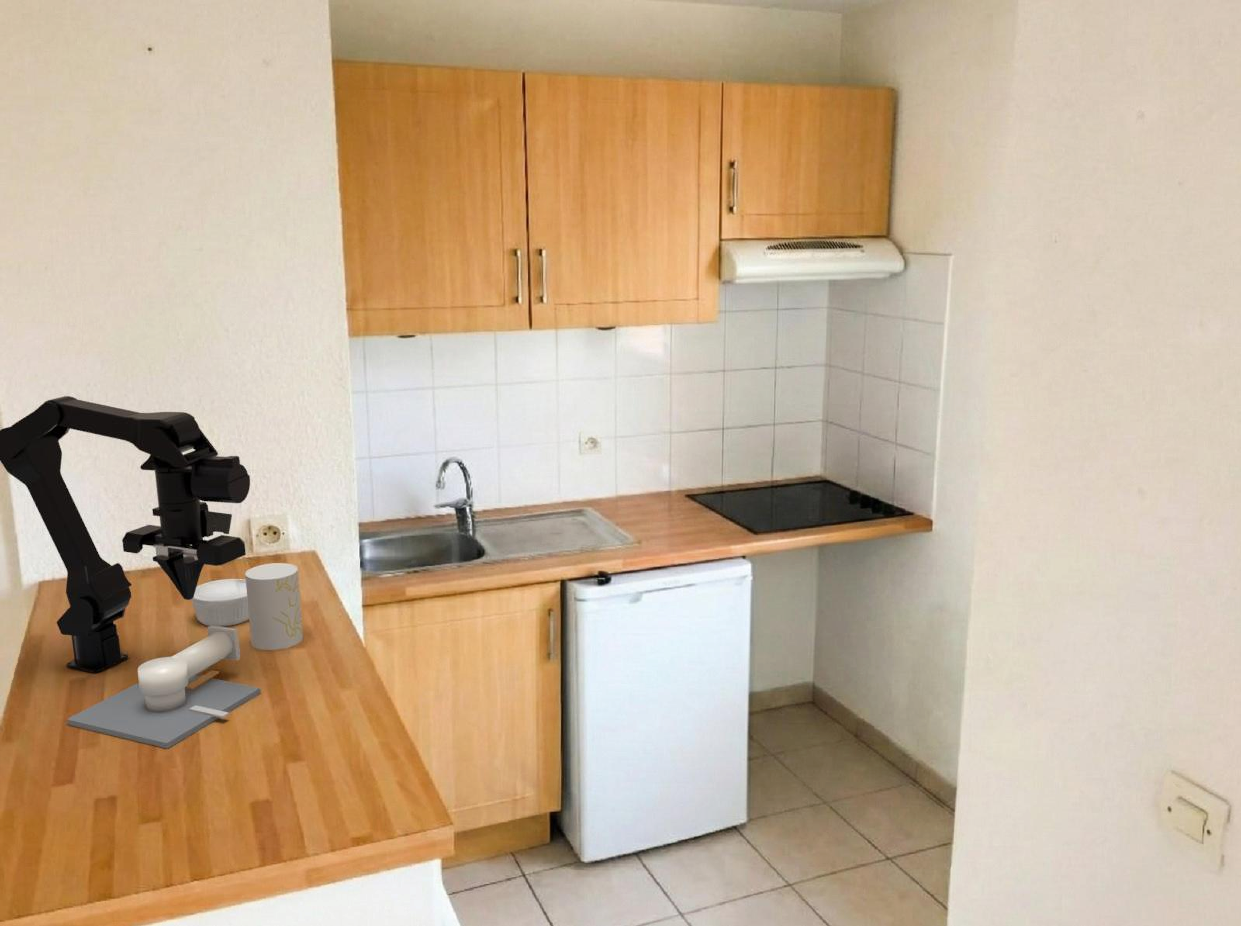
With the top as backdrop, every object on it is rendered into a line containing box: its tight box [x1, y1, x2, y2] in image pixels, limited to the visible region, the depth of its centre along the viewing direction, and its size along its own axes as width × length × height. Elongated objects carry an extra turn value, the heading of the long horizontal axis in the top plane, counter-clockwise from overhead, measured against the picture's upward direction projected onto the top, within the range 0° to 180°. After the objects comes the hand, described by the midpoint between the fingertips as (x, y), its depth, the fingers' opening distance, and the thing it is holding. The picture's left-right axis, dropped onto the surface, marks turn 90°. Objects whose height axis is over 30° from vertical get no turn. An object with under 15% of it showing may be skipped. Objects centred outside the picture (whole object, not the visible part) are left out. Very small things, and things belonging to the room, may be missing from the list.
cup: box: [244, 562, 304, 651], centre depth 176 cm, size 8×8×12 cm
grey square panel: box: [66, 669, 261, 749], centre depth 154 cm, size 20×20×3 cm
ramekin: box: [189, 578, 249, 627], centre depth 187 cm, size 11×11×5 cm
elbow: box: [137, 625, 241, 696], centre depth 157 cm, size 17×6×5 cm, turn 161°
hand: (188, 598), depth 162 cm, fingers closed
